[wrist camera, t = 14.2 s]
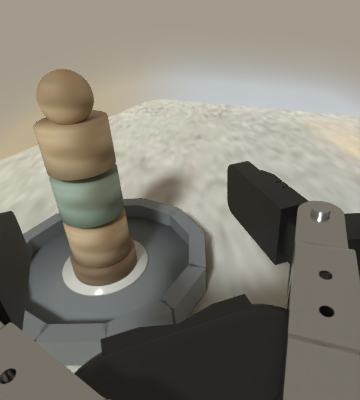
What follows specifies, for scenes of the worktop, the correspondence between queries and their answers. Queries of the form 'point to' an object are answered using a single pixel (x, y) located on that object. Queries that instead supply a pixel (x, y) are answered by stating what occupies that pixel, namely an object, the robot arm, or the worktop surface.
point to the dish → (117, 292)
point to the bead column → (84, 179)
